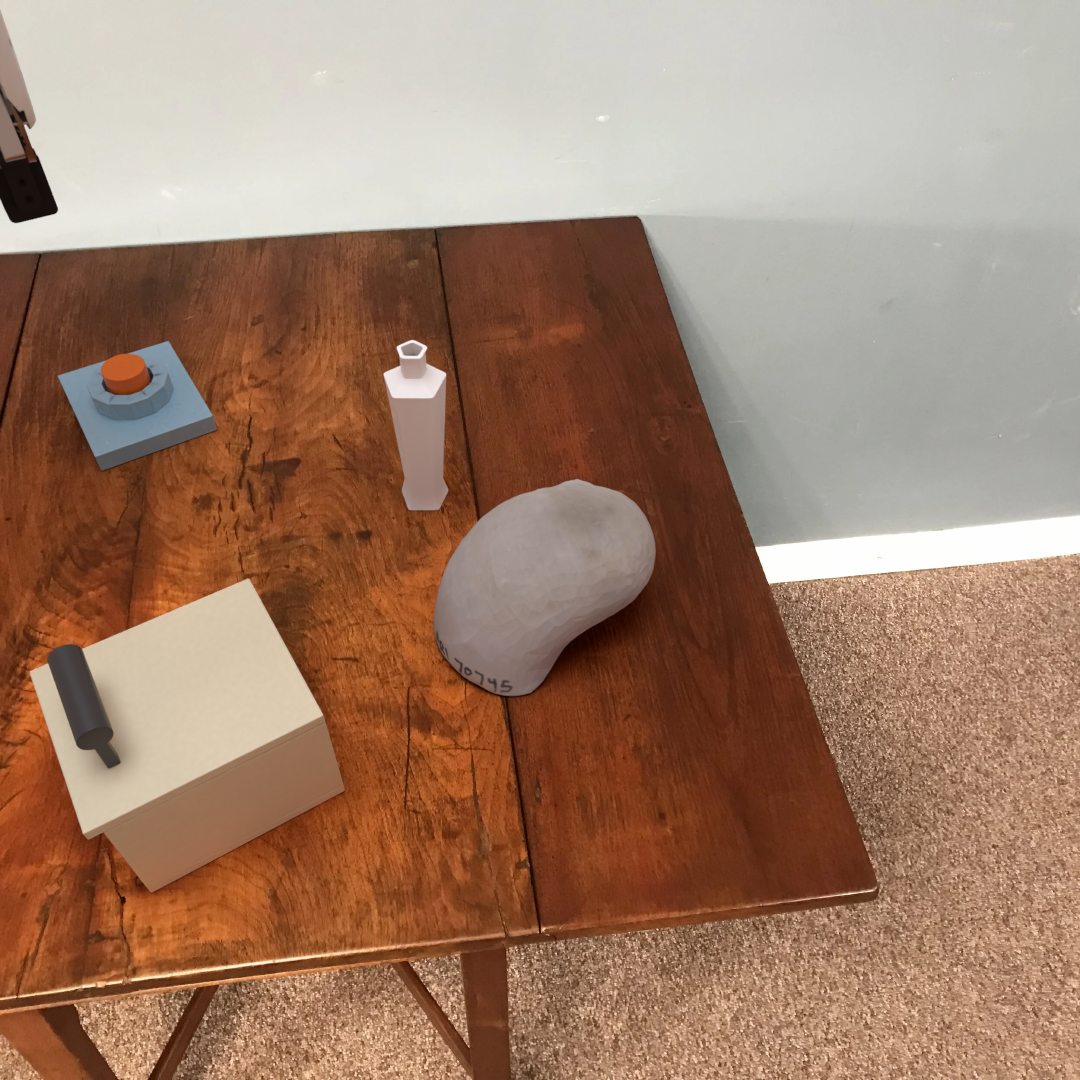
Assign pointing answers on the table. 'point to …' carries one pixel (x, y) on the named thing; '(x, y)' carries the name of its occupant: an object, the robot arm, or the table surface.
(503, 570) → the grey rounded lump
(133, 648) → the lid
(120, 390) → the button
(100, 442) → the box
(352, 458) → the table surface
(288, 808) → the chest
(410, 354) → the perfume bottle
